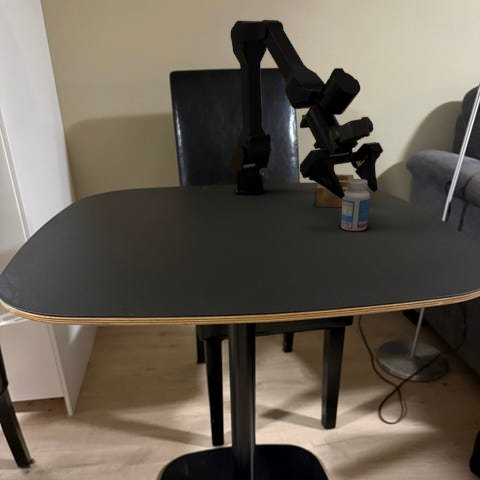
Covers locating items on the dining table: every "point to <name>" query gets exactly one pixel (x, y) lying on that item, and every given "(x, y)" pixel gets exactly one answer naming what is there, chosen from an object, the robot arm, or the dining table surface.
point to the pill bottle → (355, 205)
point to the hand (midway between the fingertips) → (359, 194)
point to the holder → (330, 199)
